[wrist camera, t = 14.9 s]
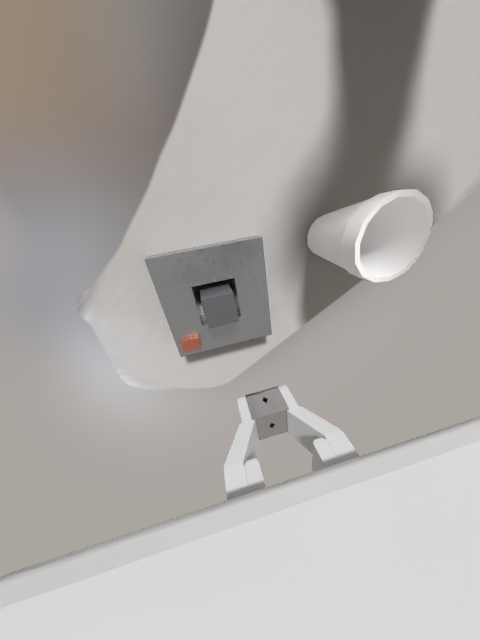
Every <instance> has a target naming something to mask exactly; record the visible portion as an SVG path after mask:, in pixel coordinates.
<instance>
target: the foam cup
mask: <svg viewBox="0 0 480 640" xmlns="http://www.w3.org/2000/svg"><path fill="white" fill-rule="evenodd" d="M433 217H434V216H433V212H432V208H431V204H430V200H429V199H428V198H427V197H426V196H425V195H424V194H422V193H421V192H420V191H419V190H417V189H405V190H395V191H389V192H384V193H379V194H377V195H375V196H374V197H372V198H370V199H367V200H365V201H362V202H359V203H356V204H353V205H350V206H347V207H344V208H342V209H339V210H336V211H333V212H330V213H327V214H325V215H322V216H321V217H319V218H317V219H316V220H315V221H314V222H313V224H312V225H311V226H310V228H309V231H308V235H307V243H308V247H309V248H310V250H311V252H313V253H314V254H316V255H318V256H320V257H322V258H324V259H326V260H328V261H330V262H332V263H334V264H336V265H338V266H340V267H342V268H344V269H346V270H347V271H348V273H350V274H352V275H354V276H356V277H358V278H361V279H364V280H367V281H370V282H374V283H377V282H386V281H391V280H393V279H394V278H396V277H398V276H399V275H401V274H403V273H405V272H406V271H407V270H408V269H409V268H410V267H411V266H412V265H413V264H414V262H415V261H416V260H417V259H418V258H419V257H420V255H421V254H422V252H423V250H424V248H425V246H426V244H427V242H428V240H429V238H430V234H431V229H432V223H433Z"/></svg>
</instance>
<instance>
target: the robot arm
mask: <svg viewBox="0 0 480 640" xmlns="http://www.w3.org/2000/svg"><path fill="white" fill-rule="evenodd" d="M237 402H238V407H239V411H240V416H241V420H242V423H241V424H239V427H238V430H237V433H236V436H235V438H234V441H233V443H232V446H231V449H230V452H229V454H228V457H227V460H226V463H225V465H224V474H225V484H226V493H227V501H224V502H221V503H219V504H215V505H212V506H209V507H206V508H203V509H200V510H197V511H195V512H192V513H188V514H185V515H182V516H180V517H176V518H174V519H170V520H167V521H164V522H162V523H158V524H155V525H153V526H150V527H147V528H143V529H140V530H137V531H135V532H131V533H128V534H125V535H122V536H119V537H116V538H113V539H110V540H107V541H105V542H101V543H99V544H95V545H93V546H90V547H86V548H84V549H81V550H77V551H74V552H71V553H69V554H65V555H62V556H59V557H57V558H53V559H50V560H47V561H45V562H42V563H38V564H35V565H32V566H29V567H26V568H23V569H20V570H17V571H14V572H11V573H9V574H6V575H4V576H2V577H0V640H480V417H476V418H473V419H470V420H467V421H464V422H461V423H458V424H455V425H452V426H449V427H446V428H444V429H440V430H438V431H435V432H431V433H428V434H425V435H422V436H419V437H416V438H414V439H410V440H407V441H405V442H402V443H398V444H395V445H392V446H390V447H386V448H383V449H381V450H377V451H374V452H371V453H369V454H365V455H362V456H359V455H358V453H357V451H356V450H355V449H354V447H353V446H352V444H351V443H350V442H349V440H348V439H347V438H346V436H345V434H344V433H343V432H342V430H340V429H338V428H337V427H335V426H333V425H332V424H330V423H328V422H326V421H325V420H324V419H322V418H320V417H319V416H317V415H315V414H313V413H312V412H310V411H309V410H307V409H305V408H304V407H302V406H298V405H297V403H296V401H295V399H294V397H293V396H292V394H291V392H290V390H289V389H288V387H287V385H285V384H284V385H281V386H277V387H273V388H270V389H267V390H263V391H260V392H257V393H252V394H249V395H245V396H241V397H237ZM285 432H288V433H289V434H291V435H292V436H293V437H294V438H295V439H296V440H297V441H299V442H300V443H301V444H302V445H303V446H304V447H306V448H307V449H308V450H309V451H310V452H311V453H312V454H313V458H312V471H313V472H311V473H308V474H305V475H302V476H300V477H297V478H293V479H290V480H287V481H284V482H282V483H278V484H275V485H272V486H269V487H266V488H265V484H264V480H263V477H262V473H261V469H260V465H259V462H258V460H256V454H257V450H258V445H259V440H261V439H265V438H268V437H271V436H274V435H277V434H281V433H285Z"/></svg>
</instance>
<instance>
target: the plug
mask: <svg viewBox="0 0 480 640" xmlns="http://www.w3.org/2000/svg"><path fill="white" fill-rule="evenodd" d="M200 295H201V303H202V306H203V310H204V313H205V316H206V320H207V323H208V327H209V329H211V328H215V327H219V326H223V325H227V324H231V323H235V322H239V318H238V313H237V308H236V303H235V298H234V294H233V291H232V289H231V288H230V286H229V284H228V282H223V283H219V284H214V285H210V286H206V287H202V288H200Z"/></svg>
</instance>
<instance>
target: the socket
mask: <svg viewBox="0 0 480 640" xmlns="http://www.w3.org/2000/svg"><path fill="white" fill-rule="evenodd" d="M145 262H146V265H147V268H148V270H149V273H150V276H151V278H152V281H153V284H154V286H155V289H156V292H157V294H158V297H159V300H160V302H161V305H162V308H163V310H164V313H165V316H166V318H167V321H168V324H169V326H170V329H171V332H172V334H173V337H174V340H175V342H176V345H177V348H178V350H179V353H180V356H181V357H183V356H187V355H191V354H195V353H199V352H203V351H207V350H211V349H215V348H219V347H223V346H227V345H231V344H235V343H239V342H243V341H247V340H251V339H255V338H259V337H263V336H267V335H271V334H272V332H271V322H270V311H269V301H268V291H267V281H266V271H265V261H264V250H263V240H262V237H258V236H252V237H247V238H241V239H236V240H231V241H226V242H220V243H215V244H210V245H205V246H199V247H194V248H189V249H184V250H178V251H173V252H168V253H163V254H157V255H152V256H150V257H148V258H146V259H145ZM227 279H232V284H233V290H234V295H235V301H236V306H237V307H236V308H237V313H238V318H239V322H235V323H231V324H227V325H223V326H219V327H215V328H211V329H209V327H208V323H207V320H206V316H205V315H201V311H200V308H199V304H198V300H197V297H196V293H195V290H194V286H199V285H204V284H208V283H213V282H218V281H222V280H227Z"/></svg>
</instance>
